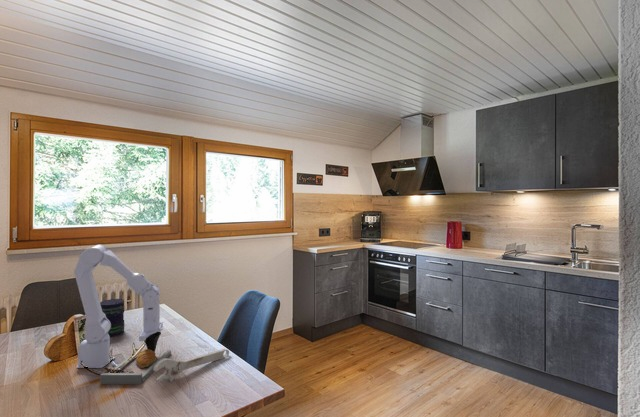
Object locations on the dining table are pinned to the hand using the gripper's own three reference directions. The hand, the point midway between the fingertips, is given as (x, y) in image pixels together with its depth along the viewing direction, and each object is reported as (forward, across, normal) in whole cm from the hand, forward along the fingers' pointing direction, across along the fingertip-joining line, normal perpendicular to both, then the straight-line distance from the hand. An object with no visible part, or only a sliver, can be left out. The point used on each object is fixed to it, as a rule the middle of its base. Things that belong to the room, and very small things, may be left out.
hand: (151, 352), depth 131 cm
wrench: (+2, -11, -21) cm, 24 cm away
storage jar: (+2, +23, +30) cm, 38 cm away
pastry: (+2, -5, -1) cm, 5 cm away
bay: (+2, -10, 0) cm, 10 cm away
